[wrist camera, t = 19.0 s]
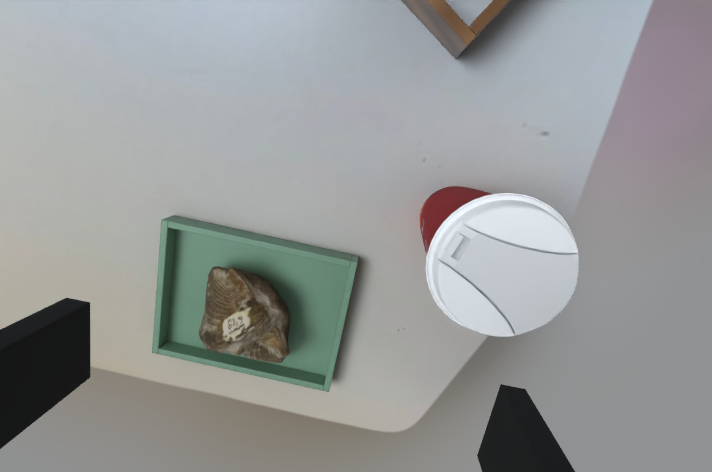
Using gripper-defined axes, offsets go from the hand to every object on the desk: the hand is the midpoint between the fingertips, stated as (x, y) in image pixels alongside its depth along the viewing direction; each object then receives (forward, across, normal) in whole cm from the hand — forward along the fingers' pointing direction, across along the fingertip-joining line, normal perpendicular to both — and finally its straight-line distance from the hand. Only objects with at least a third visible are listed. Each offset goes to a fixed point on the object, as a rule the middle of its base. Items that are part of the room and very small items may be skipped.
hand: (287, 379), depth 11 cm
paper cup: (+21, +9, +3) cm, 23 cm away
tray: (+21, -7, -8) cm, 24 cm away
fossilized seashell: (+21, -7, -9) cm, 24 cm away
